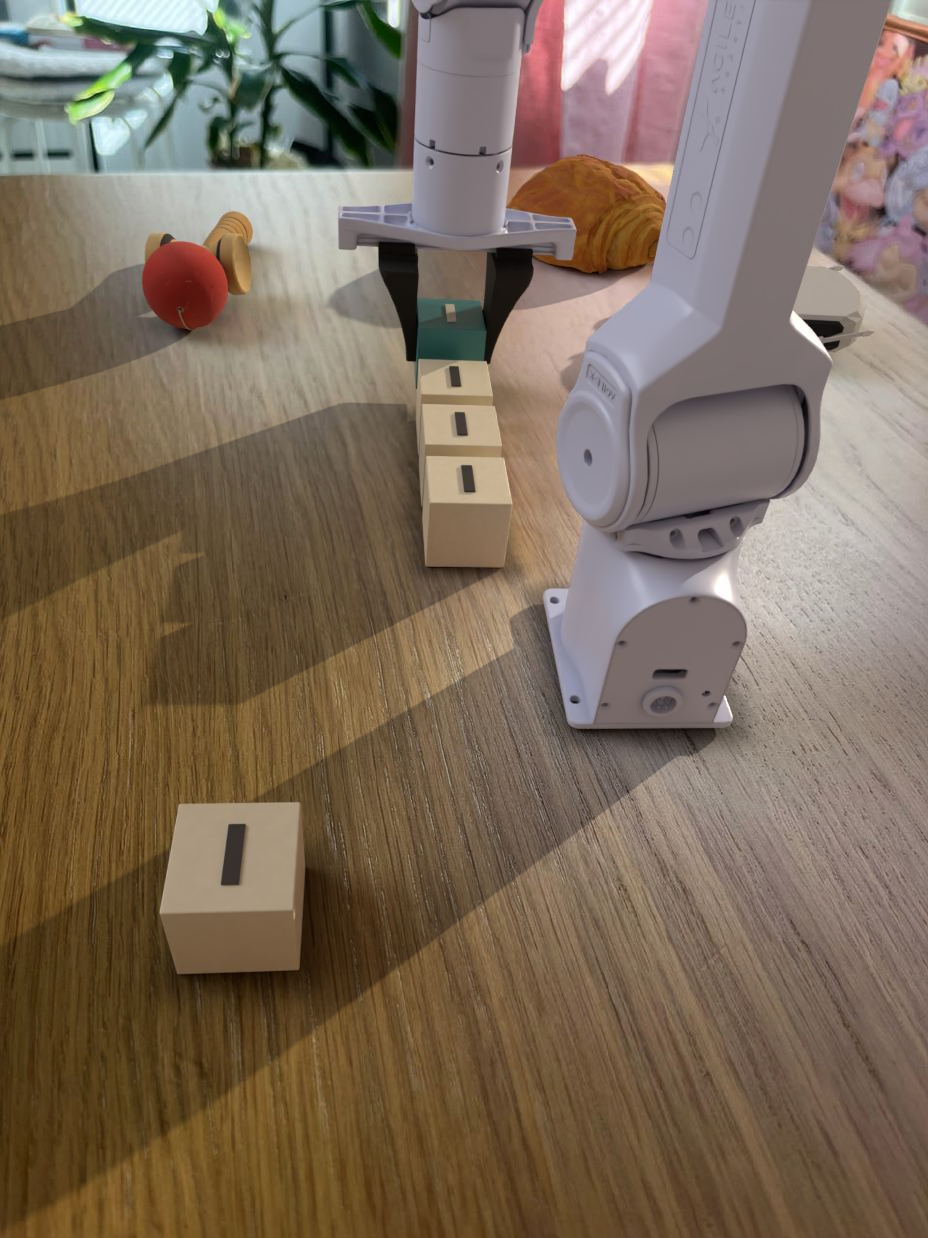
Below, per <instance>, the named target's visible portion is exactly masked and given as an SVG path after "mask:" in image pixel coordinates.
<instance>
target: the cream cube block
mask: <svg viewBox="0 0 928 1238" xmlns="http://www.w3.org/2000/svg"><path fill="white" fill-rule="evenodd" d="M493 398H494V395H493V390H492V385H491V379H490V373H489V367H488V364H487V362H486V361H463V360H434V359H419V361H418V382H417V389H416V404H415V405H416V406H415V407H416V408H415V427H416V443H417V444H416V445H417V455H418V456H419V451H420V432H421V412H422V404H445V405H478V406H493Z"/></svg>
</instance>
